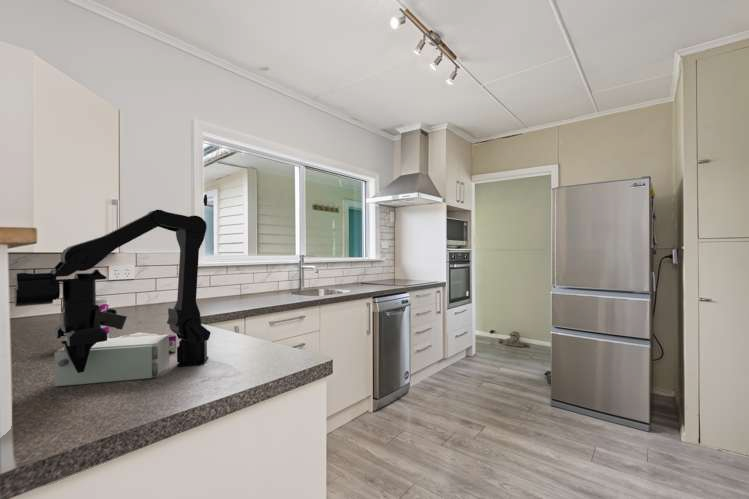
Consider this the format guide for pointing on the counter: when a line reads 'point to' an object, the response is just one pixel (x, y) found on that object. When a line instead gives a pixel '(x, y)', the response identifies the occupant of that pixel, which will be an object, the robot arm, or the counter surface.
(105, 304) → the supplement can
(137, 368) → the door
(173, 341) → the candy bar box
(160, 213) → the robot arm
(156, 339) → the cupboard
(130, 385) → the counter surface
